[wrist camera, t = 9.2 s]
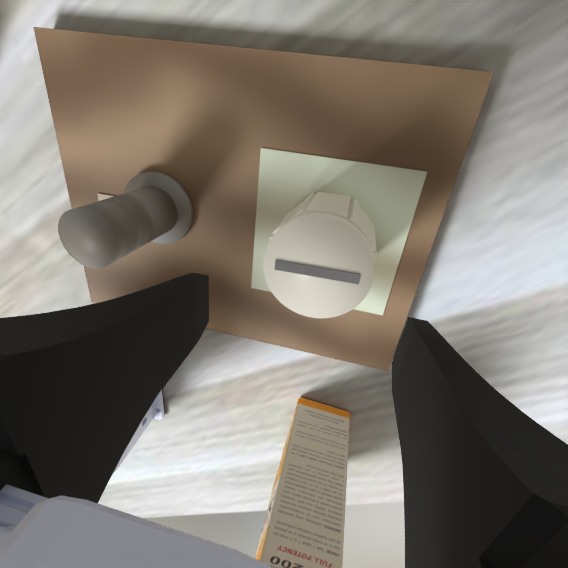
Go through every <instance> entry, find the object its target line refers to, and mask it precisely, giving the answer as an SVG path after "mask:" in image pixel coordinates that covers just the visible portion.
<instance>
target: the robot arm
mask: <svg viewBox="0 0 568 568" xmlns="http://www.w3.org/2000/svg"><path fill="white" fill-rule="evenodd" d="M208 322H209V276H208V275H203V274H198V273H190V274H186V275H183V276H180V277H177V278H174V279H171V280H168V281H166V282H163V283H160V284H157V285H154V286H152V287H149V288H146V289H143V290H140V291H137V292H134V293H131V294H127V295H124V296H121V297H118V298H115V299H111V300H107V301H103V302H99V303H95V304H91V305H87V306H82V307H77V308H71V309H66V310H60V311H54V312H48V313H42V314H34V315H26V316H17V317H7V318H0V568H271V567H270V566H269V565H267V564H265V563H263V562H261V561H259V560H257V559H255V558H252V557H250V556H248V555H246V554H244V553H242V552H240V551H238V550H235V549H232V548H229V547H226V546H223V545H220V544H217V543H214V542H211V541H208V540H205V539H202V538H199V537H196V536H193V535H190V534H187V533H184V532H181V531H178V530H175V529H172V528H169V527H166V526H163V525H160V524H157V523H154V522H151V521H148V520H145V519H142V518H139V517H136V516H133V515H130V514H127V513H124V512H121V511H118V510H115V509H112V508H109V507H106V506H103V505H100V504H97V503H98V501H99V499H100V497H101V495H102V493H103V491H104V489H105V487H106V485H107V483H108V481H109V479H110V478H111V476H112V474H113V473H114V472H115V471H116V470H117V468H118V467H119V466H120V464H121V463H122V462H123V460H124V459H125V457H126V456H127V454H128V453H129V452H130V450H131V449H132V447H133V446H134V445H135V443H136V442H137V440H138V439H139V438H140V436H141V435H142V433H143V432H144V430H145V429H146V428H147V426H148V425H149V423H150V422H151V421H152V419H153V418H154V419H158V420H162V419H163V417H164V406H163V396H162V389H163V387H164V386H165V385H166V383H167V382H168V381H169V379H170V378H171V377H172V375H173V374H174V373H175V371H176V370H177V369H178V368H179V366H180V365H181V364H182V362H183V361H184V360H185V358H186V357H187V356H188V354H189V353H190V352H191V350H192V349H193V348H194V346H195V345H196V344H197V342H198V340H199V339H200V337H201V335H202V333H203V332H204V330H205V328H206V326H207V324H208ZM392 392H393V399H394V406H395V413H396V420H397V426H398V433H399V440H400V446H401V454H402V463H403V483H404V510H405V512H404V513H405V568H568V445H567V444H566V443H564V442H563V441H562V440H560V439H559V438H557V437H556V436H555V435H553V434H552V433H550V432H549V431H548V430H546V429H545V428H543V427H542V426H541V425H539V424H538V423H536V422H535V421H534V420H532V419H531V418H530V417H528V416H527V415H526V414H524V413H523V412H522V411H521V410H519V409H518V408H517V407H516V406H514V405H513V404H512V403H511V402H510V401H508V400H507V399H506V398H505V397H503V396H502V395H501V394H500V393H499V392H498V391H496V390H495V389H494V388H493V387H492V386H491V385H490V384H489V383H488V382H486V381H485V380H484V379H483V378H482V377H481V376H480V375H479V374H478V373H477V372H476V371H475V370H474V369H473V368H472V367H471V366H470V365H469V364H468V363H467V362H466V361H465V360H464V359H463V358H462V357H461V356H460V355H459V354H458V353H457V352H456V351H455V350H454V349H453V348H452V347H451V345H450V344H449V343H448V342H447V341H446V340H445V339H444V338H443V337H442V336H441V335H440V334H439V332H438V331H437V330H436V329H435V328H434V327H433V326H432V325H431V324H430V323H429V322H428V321H424V320H420V319H415V318H410V317H408V320H407V323H406V326H405V328H404V331H403V334H402V337H401V340H400V342H399V345H398V348H397V351H396V354H395V356H394V359H393V362H392Z"/></svg>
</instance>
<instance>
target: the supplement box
mask: <svg viewBox="0 0 568 568" xmlns="http://www.w3.org/2000/svg"><path fill="white" fill-rule="evenodd" d="M349 426H350V413H349V412H347V411H344V410H341V409H338V408H335V407H331V406H329V405H325V404H322V403H319V402H315V401H312V400H309V399H305V398H302V397H300V398H299V399H298V402H297V406H296V409H295V413H294V417H293V420H292V423H291V427H290V430H289V434H288V437H287V440H286V444H285V447H284V450H283V454H282V457H281V461H280V465H279V468H278V471H277V475H276V479H275V482H274V486H273V490H272V494H271V498H270V501H269V505H268V509H267V513H266V517H265V521H264V525H263V529H262V533H261V537H260V541H259V545H258V549H257V553H256V557H255V559H257V560H259V561H261V562H263V563H265V564H267V565H269V566H270V567H271V568H342V560H343V541H344V519H345V501H346V482H347V460H348V444H349Z"/></svg>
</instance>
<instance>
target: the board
mask: <svg viewBox="0 0 568 568" xmlns="http://www.w3.org/2000/svg"><path fill="white" fill-rule="evenodd" d="M34 31H35V36H36V41H37V46H38V50H39V55H40V60H41V65H42V69H43V74H44V79H45V84H46V88H47V93H48V98H49V103H50V107H51V112H52V117H53V122H54V126H55V131H56V136H57V141H58V145H59V150H60V155H61V160H62V164H63V169H64V174H65V178H66V183H67V188H68V193H69V197H70V202H71V207H72V209H71V210H68V211H66V212H65V213H64V214H63V215H62V216H61V217H60V220H59V224H58V231H59V236H60V239H61V242H62V244H63V246H64V247H65V249H66V250H67V252H68V253H69V254H70V255H71V256H72V257H73V258H74V259H75V260H76V261H78V262H79V263H81V264H82V265H84V269H85V273H86V278H87V283H88V288H89V292H90V297H91V302H94V303H99V302H103V301H107V300H111V299H115V298H118V297H121V296H124V295H127V294H131V293H134V292H137V291H140V290H143V289H146V288H149V287H152V286H154V285H157V284H160V283H163V282H166V281H168V280H171V279H174V278H177V277H180V276H183V275H186V274H190V273H198V274H203V275H208V276H209V322H208V324H207V326H206V328H205V329H210V330H214V331H218V332H223V333H227V334H231V335H235V336H240V337H244V338H248V339H253V340H257V341H261V342H265V343H270V344H274V345H278V346H283V347H287V348H291V349H295V350H300V351H304V352H308V353H313V354H317V355H321V356H325V357H330V358H334V359H338V360H343V361H347V362H351V363H355V364H360V365H364V366H368V367H372V368H377V369H381V370H385V371H388V369H389V366H390V364H391V361H392V358H393V355H394V352H395V350H396V347H397V344H398V341H399V338H400V335H401V333H402V330H403V327H404V324H405V321H406V319H407V316H408V313H409V310H410V307H411V304H412V302H413V299H414V296H415V293H416V290H417V288H418V285H419V282H420V279H421V276H422V274H423V271H424V268H425V265H426V262H427V259H428V257H429V254H430V251H431V248H432V245H433V243H434V240H435V237H436V234H437V231H438V228H439V226H440V223H441V220H442V217H443V214H444V212H445V209H446V206H447V203H448V200H449V197H450V195H451V192H452V189H453V186H454V183H455V181H456V178H457V175H458V172H459V169H460V167H461V164H462V161H463V158H464V155H465V152H466V150H467V147H468V144H469V141H470V138H471V136H472V133H473V130H474V127H475V124H476V121H477V119H478V116H479V113H480V110H481V107H482V105H483V102H484V99H485V96H486V93H487V90H488V88H489V85H490V82H491V79H492V76H493V74H494V72H490V71H479V70H469V69H459V68H449V67H438V66H428V65H418V64H408V63H397V62H387V61H377V60H367V59H356V58H346V57H336V56H326V55H315V54H305V53H295V52H285V51H274V50H264V49H254V48H244V47H233V46H223V45H213V44H202V43H192V42H182V41H172V40H161V39H151V38H141V37H131V36H120V35H110V34H100V33H90V32H79V31H69V30H59V29H49V28H38V27H34ZM317 192H325V193H332V194H340V195H347V196H351V200H353V199H354V198H355V199H356V201H357V202H358V203H359V205H360V206H361V208H362V209H363V210H364V212H365V213H366V215H367V216H368V217H369V219H370V220H371V222H372V223H373V224H374V229H375V238H376V248H377V256H376V260H375V264H374V279H373V283H372V286H371V289H370V291H369V293H368V294H367V296H366V297H365V299H364V300H363V301H362V302H361V303H360V304H359V305H358V306H357V307H355V308H354V309H352V310H351V311H349V312H347V313H345V314H343V315H340V316H337V317H332V318H311V317H307V316H303V315H300V314H298V313H296V312H294V311H292V310H290V309H288V308H287V307H285V306H284V305H283V304H282V303H280V302H279V300H278V299H277V298H276V297H275V296H274V295H273V293H272V292H271V290H270V288H269V287H268V284H267V282H266V279H265V276H264V269H263V260H264V254H265V251H266V248H267V246H268V243H269V242H270V236H271V235H272V232H273V231H274V230H275V229H276V227H277V226H278V225H279V224H280V222H281V221H282V220H283V219H284V218H285V216H286V215H287V214H288V213H289V212H290V211H291V210H292V209H294V208H295V207H296V206H297V205H299V204H300V203H301V202H303V201H304V200H305V199H306V198H308V197H309V196H310V195H311V194H313V193H314V194H315V195H316V193H317ZM351 200H350V201H351Z"/></svg>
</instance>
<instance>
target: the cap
mask: <svg viewBox="0 0 568 568" xmlns="http://www.w3.org/2000/svg"><path fill="white" fill-rule="evenodd" d="M350 200H351V196H347V195H340V194H332V193H325V192H317V193H316V195H315V194H314V193H313V194H311V195H310V196H309V197H308V198H306V199H305V200H304V201H303V202H301V203H300V204H299V205H297V206H296V207H295V208H294V209H292V210H291V211H290V212H289V213H288V214H287V215H286V216H285V218H284V219H283V220H282V221H281V222H280V224H279V225H278V226H277V227H276V229H275V230H274V231H273V232H272V235H271V236H270V242H269V243H268V246H267V248H266V251H265V254H264V260H263V269H264V276H265V279H266V282H267V284H268V287H269V288H270V290H271V292H272V293H273V295H274V296H275V297H276V298H277V299H278V300H279V302H280V303H282V304H283V305H284V306H285V307H287V308H288V309H290V310H292V311H294V312H296V313H298V314H300V315H303V316H307V317H311V318H332V317H337V316H340V315H343V314H345V313H347V312H349V311H351V310H352V309H354V308H355V307H357V306H358V305H359V304H360V303H361V302H362V301H363V300H364V299H365V297H366V296H367V294H368V293H369V291H370V289H371V286H372V283H373V279H374V264H375V260H376V256H377V248H376V238H375V229H374V224H373V223H372V222H371V220H370V219H369V217H368V216H367V215H366V213H365V212H364V210H363V209H362V208H361V206H360V205H359V203H358V202H357V201H356V199H355V198H354V199H353V200H351V201H350Z"/></svg>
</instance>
